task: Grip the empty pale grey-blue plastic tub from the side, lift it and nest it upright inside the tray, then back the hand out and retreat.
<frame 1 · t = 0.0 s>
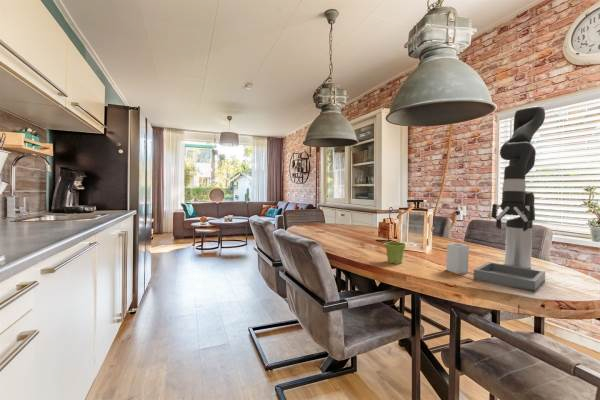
hand: (511, 229, 117), 17 cm above the table, tool pointing down, fingers open, 8 cm apart
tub: (456, 271, 117), on the table
plant pot: (394, 262, 130), on the table
tray: (508, 279, 106), on the table
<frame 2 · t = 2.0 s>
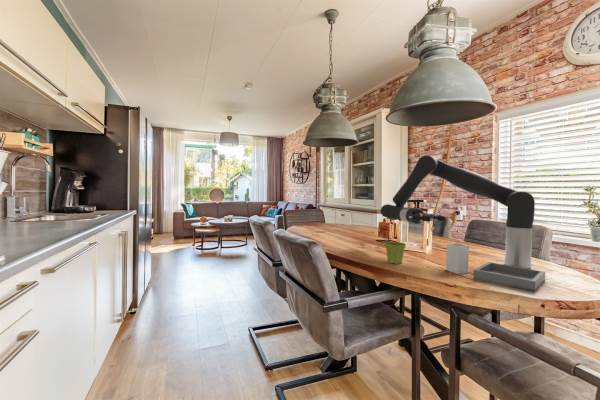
hand: (437, 219, 126), 20 cm above the table, tool horizontal, fingers open, 8 cm apart
nothing on the table moved.
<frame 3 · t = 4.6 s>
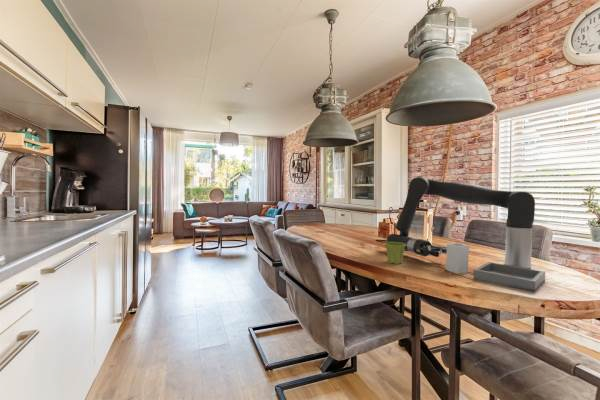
hand: (446, 253, 122), 6 cm above the table, tool horizontal, fingers open, 8 cm apart
nothing on the table moved.
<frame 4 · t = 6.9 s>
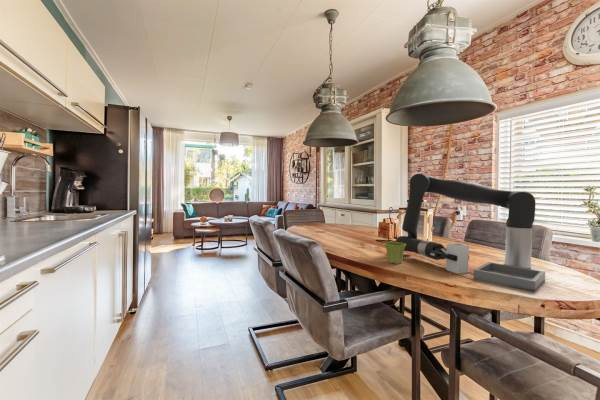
hand: (462, 258, 114), 6 cm above the table, tool horizontal, fingers closed on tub, 5 cm apart
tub: (456, 271, 117), on the table, touching gripper
everything else where it was.
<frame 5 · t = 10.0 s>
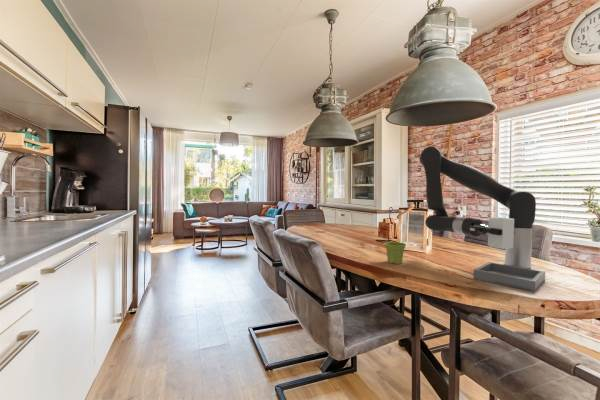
hand: (507, 232, 105), 18 cm above the table, tool horizontal, fingers closed on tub, 5 cm apart
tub: (500, 247, 107), point 12 cm above the table, touching gripper
everything else where it was.
when the fingers open (9 cm above the table, at t = 13.0 s): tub drops 2 cm, resting on tray.
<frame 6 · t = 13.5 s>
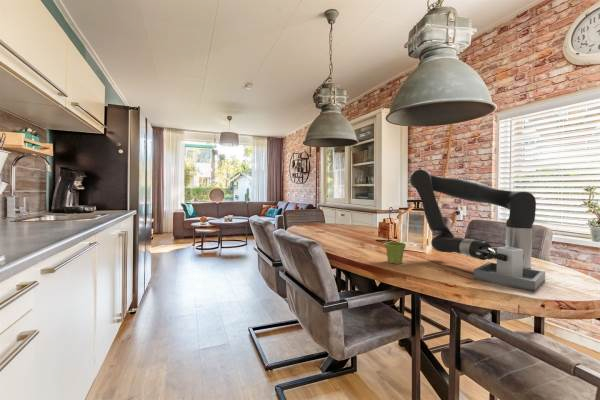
hand: (515, 257, 104), 9 cm above the table, tool horizontal, fingers open, 8 cm apart
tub: (509, 277, 106), point 1 cm above the table, touching tray
everything else where it was.
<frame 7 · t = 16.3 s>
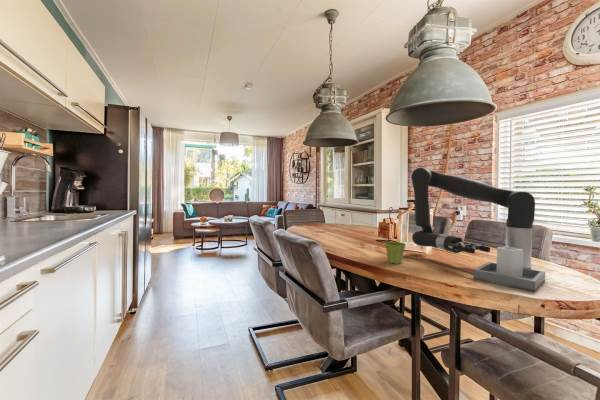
hand: (481, 250, 116), 9 cm above the table, tool horizontal, fingers open, 8 cm apart
nothing on the table moved.
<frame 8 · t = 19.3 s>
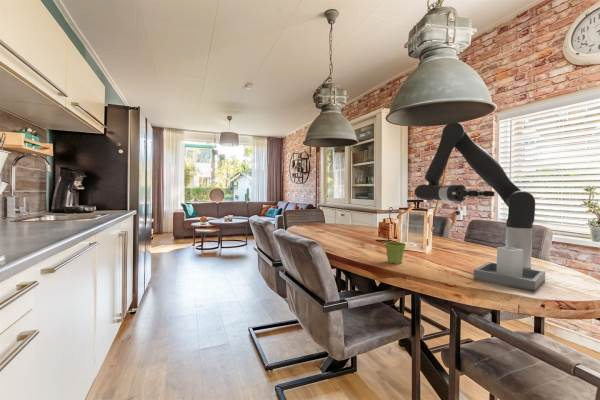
hand: (486, 193, 114), 32 cm above the table, tool horizontal, fingers open, 8 cm apart
nothing on the table moved.
at the end: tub inside the target area on the tray (0.1 cm from its centre), point 0.8 cm above the tray's base; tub tilted 0°; the gripper is holding nothing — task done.
